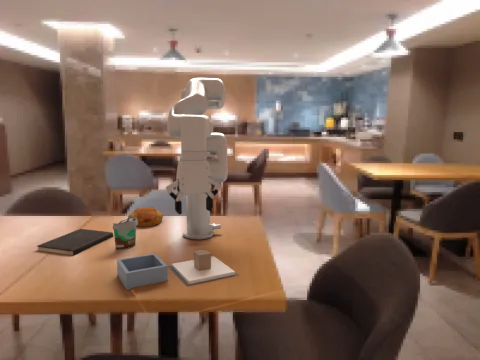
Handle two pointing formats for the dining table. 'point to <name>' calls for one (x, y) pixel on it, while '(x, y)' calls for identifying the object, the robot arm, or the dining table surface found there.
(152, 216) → the croissant
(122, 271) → the dish
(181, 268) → the lid
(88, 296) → the dining table surface
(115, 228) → the food container
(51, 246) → the hardcover book
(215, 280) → the mat
